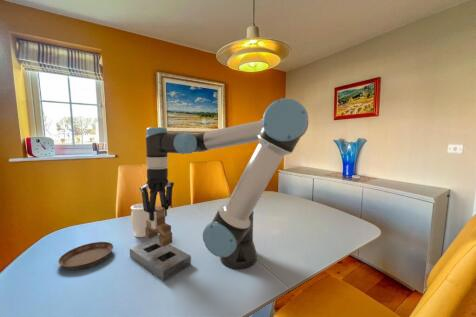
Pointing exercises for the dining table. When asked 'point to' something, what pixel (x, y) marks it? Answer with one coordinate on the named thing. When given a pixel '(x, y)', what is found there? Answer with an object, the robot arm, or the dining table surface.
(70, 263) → the plant saucer
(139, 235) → the jar
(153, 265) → the grey slotted base block
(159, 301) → the dining table surface
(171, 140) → the robot arm
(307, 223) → the dining table surface
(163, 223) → the brown wooden branched block
